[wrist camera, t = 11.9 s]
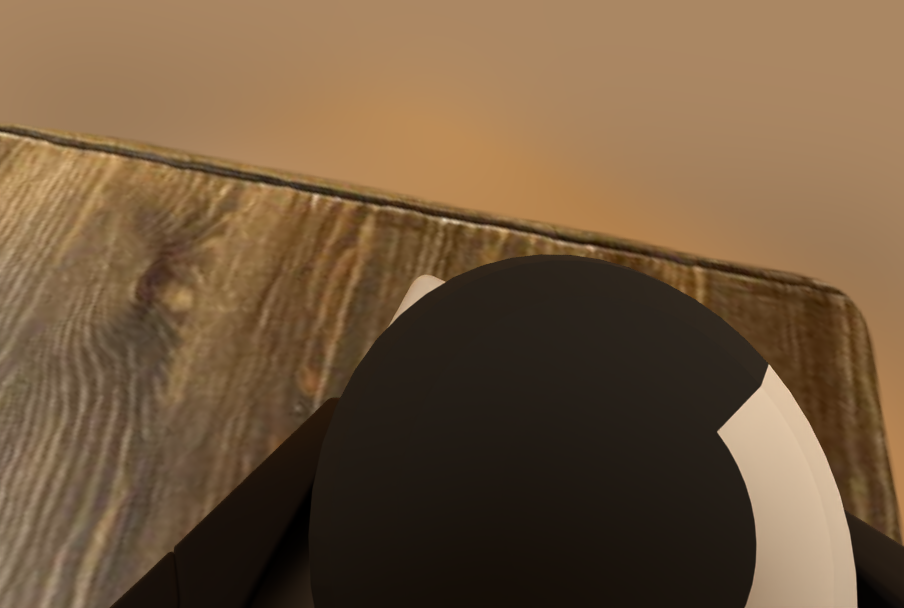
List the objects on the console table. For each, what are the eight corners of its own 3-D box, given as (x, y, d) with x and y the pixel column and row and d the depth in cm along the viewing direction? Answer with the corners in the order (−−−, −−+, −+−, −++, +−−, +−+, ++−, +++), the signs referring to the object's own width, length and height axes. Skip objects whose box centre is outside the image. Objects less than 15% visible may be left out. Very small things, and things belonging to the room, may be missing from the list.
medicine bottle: (309, 528, 14) (-28, 826, 3) (407, 342, 16) (448, 97, 5) (503, 626, 14) (1034, 1401, 2) (570, 422, 16) (968, 344, 5)
